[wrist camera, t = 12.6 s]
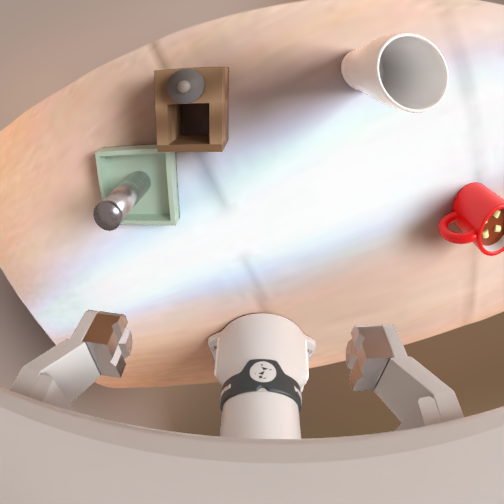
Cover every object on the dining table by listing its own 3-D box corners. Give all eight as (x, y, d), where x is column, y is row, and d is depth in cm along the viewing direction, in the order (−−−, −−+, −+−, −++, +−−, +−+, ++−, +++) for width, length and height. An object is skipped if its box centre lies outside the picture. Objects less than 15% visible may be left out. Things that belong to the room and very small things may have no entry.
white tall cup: (340, 100, 34) (384, 119, 22) (327, 47, 31) (365, 34, 18) (392, 93, 33) (455, 110, 20) (380, 41, 30) (441, 31, 17)
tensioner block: (228, 140, 38) (219, 156, 31) (172, 140, 38) (152, 156, 31) (228, 67, 33) (220, 66, 26) (170, 70, 33) (148, 70, 26)
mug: (425, 199, 40) (451, 225, 34) (488, 176, 37) (519, 197, 31) (432, 244, 44) (454, 274, 37) (491, 220, 41) (517, 245, 34)
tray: (179, 217, 43) (175, 225, 41) (112, 216, 43) (105, 224, 41) (175, 143, 38) (170, 148, 36) (103, 147, 38) (94, 152, 36)
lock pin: (152, 193, 41) (122, 230, 32) (130, 194, 41) (96, 230, 32) (149, 170, 39) (117, 202, 30) (127, 171, 39) (91, 203, 30)
